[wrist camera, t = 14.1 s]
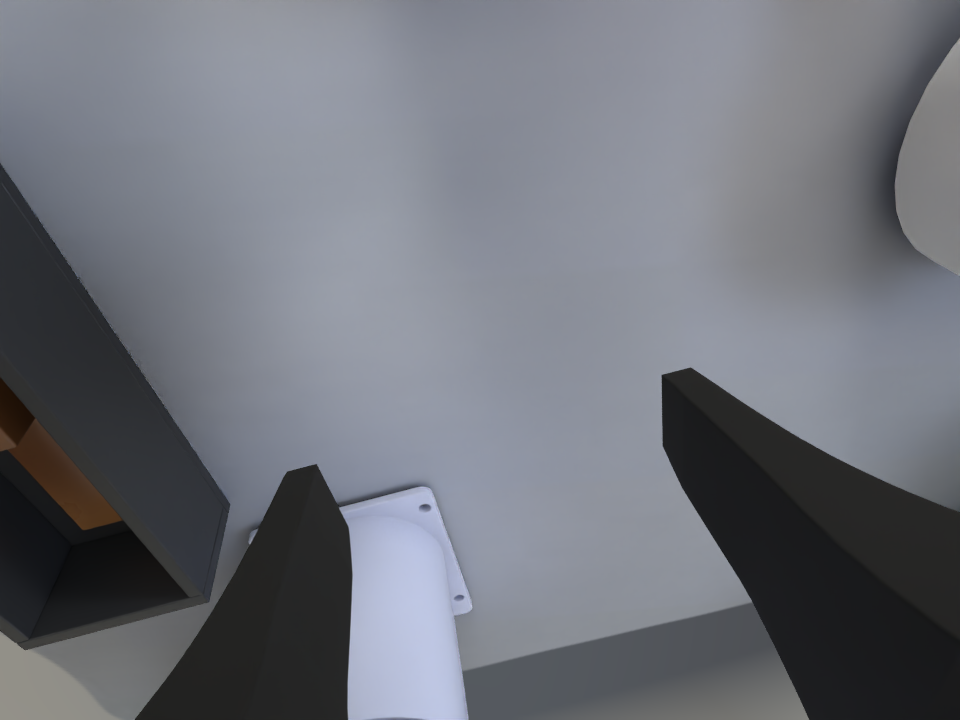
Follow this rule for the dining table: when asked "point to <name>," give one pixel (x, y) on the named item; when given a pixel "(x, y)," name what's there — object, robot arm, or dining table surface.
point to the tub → (91, 461)
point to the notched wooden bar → (50, 464)
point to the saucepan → (933, 169)
